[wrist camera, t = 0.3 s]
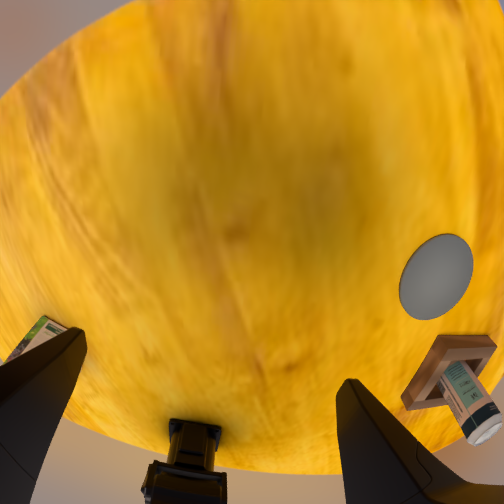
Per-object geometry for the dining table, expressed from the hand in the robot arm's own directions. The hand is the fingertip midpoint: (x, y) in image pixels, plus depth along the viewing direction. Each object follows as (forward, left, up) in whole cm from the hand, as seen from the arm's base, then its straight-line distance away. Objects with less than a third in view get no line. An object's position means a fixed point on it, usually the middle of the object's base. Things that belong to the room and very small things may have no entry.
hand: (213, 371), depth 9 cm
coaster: (-1, -20, -15) cm, 24 cm away
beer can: (-13, -28, -15) cm, 35 cm away
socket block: (-13, -28, -15) cm, 35 cm away
